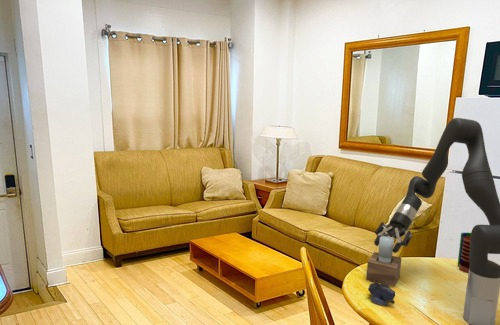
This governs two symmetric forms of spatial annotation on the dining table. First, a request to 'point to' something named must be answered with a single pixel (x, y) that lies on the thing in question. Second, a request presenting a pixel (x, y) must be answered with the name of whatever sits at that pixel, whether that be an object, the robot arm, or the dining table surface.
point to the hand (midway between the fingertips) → (384, 248)
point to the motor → (464, 252)
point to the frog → (381, 293)
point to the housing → (383, 270)
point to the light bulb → (385, 249)
